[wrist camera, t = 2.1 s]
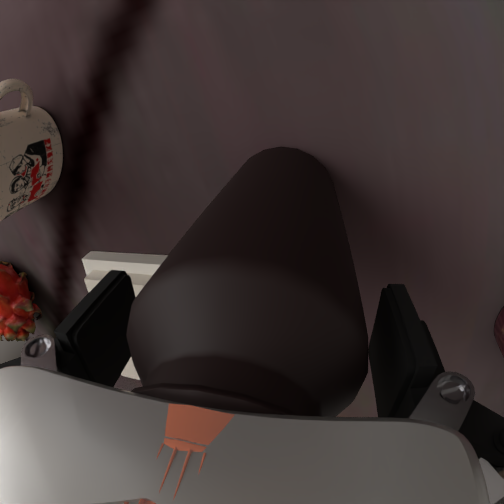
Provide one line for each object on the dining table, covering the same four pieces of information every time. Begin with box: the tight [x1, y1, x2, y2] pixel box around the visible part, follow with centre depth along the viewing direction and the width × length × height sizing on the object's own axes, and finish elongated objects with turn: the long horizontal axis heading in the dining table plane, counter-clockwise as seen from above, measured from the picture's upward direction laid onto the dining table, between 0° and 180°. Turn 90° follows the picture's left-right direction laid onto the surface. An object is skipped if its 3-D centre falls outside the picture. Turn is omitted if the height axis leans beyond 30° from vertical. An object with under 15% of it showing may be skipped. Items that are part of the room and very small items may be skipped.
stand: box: [82, 251, 168, 380], centre depth 27 cm, size 14×14×3 cm
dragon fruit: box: [0, 261, 42, 341], centre depth 28 cm, size 8×8×12 cm
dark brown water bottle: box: [124, 147, 368, 504], centre depth 12 cm, size 7×7×20 cm
